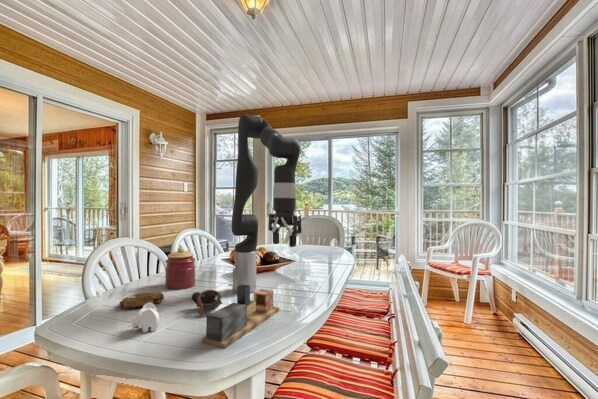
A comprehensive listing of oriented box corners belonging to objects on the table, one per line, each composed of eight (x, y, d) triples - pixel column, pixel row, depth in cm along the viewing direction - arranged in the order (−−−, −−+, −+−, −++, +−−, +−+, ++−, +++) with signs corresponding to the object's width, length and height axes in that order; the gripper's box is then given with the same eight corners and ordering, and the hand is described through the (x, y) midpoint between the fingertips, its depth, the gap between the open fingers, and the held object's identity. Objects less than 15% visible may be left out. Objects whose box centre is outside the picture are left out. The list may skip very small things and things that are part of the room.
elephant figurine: (129, 327, 91) (129, 304, 92) (163, 322, 95) (163, 300, 95) (126, 337, 84) (126, 312, 85) (163, 332, 88) (163, 308, 88)
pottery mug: (226, 307, 111) (227, 291, 107) (213, 327, 103) (213, 311, 99) (198, 296, 113) (197, 280, 109) (182, 315, 105) (181, 299, 101)
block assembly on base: (225, 348, 79) (225, 319, 79) (202, 342, 82) (202, 314, 82) (279, 310, 106) (279, 289, 106) (260, 307, 109) (260, 286, 109)
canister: (159, 286, 136) (160, 247, 136) (186, 280, 146) (186, 244, 146) (173, 291, 127) (173, 250, 128) (200, 285, 137) (201, 247, 137)
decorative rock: (161, 297, 122) (118, 306, 113) (160, 287, 122) (117, 295, 113) (167, 304, 112) (121, 314, 103) (167, 293, 112) (121, 302, 104)
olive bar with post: (220, 331, 81) (220, 298, 81) (211, 329, 82) (212, 297, 82) (255, 310, 97) (256, 282, 97) (248, 309, 98) (248, 281, 98)
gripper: (262, 196, 102) (262, 244, 102) (290, 196, 92) (289, 249, 92) (279, 197, 107) (279, 242, 107) (307, 196, 97) (307, 246, 97)
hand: (284, 245), depth 100 cm, fingers open, 8 cm apart
